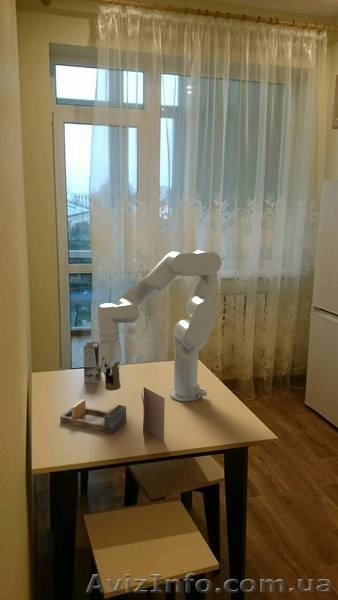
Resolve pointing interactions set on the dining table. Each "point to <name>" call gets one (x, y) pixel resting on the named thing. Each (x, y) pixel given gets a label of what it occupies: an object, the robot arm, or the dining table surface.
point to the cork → (116, 383)
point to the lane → (97, 419)
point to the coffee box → (91, 363)
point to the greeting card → (153, 413)
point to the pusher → (79, 409)
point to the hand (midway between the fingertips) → (112, 381)
